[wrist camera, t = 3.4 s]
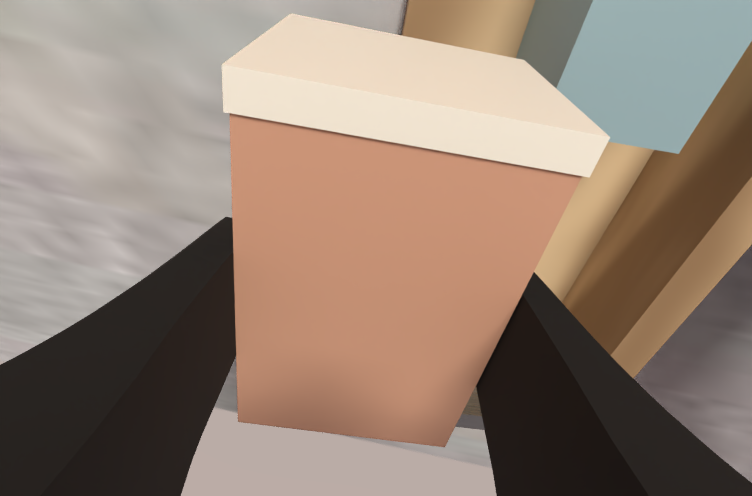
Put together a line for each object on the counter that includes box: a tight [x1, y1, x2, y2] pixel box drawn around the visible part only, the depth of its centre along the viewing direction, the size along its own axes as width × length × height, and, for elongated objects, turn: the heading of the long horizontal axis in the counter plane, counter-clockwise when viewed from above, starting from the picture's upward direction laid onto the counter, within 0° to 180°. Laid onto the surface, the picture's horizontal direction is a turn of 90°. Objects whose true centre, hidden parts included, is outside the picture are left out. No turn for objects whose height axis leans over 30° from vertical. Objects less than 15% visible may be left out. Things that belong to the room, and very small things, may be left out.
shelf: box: [401, 0, 752, 378], centre depth 16 cm, size 12×20×5 cm, turn 171°
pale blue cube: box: [516, 0, 752, 154], centre depth 12 cm, size 4×5×4 cm
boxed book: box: [222, 14, 610, 447], centre depth 10 cm, size 5×8×4 cm, turn 170°
